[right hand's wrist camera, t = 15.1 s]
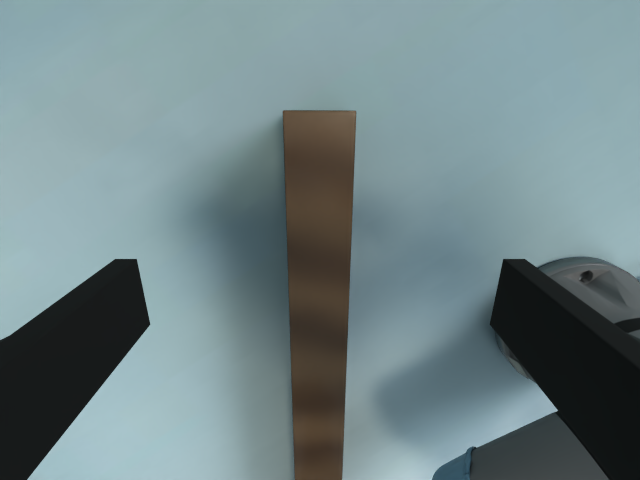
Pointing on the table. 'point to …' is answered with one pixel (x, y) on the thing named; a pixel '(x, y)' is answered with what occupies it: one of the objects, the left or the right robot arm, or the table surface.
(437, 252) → the table surface
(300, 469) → the bar
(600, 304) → the right robot arm
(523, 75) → the table surface
